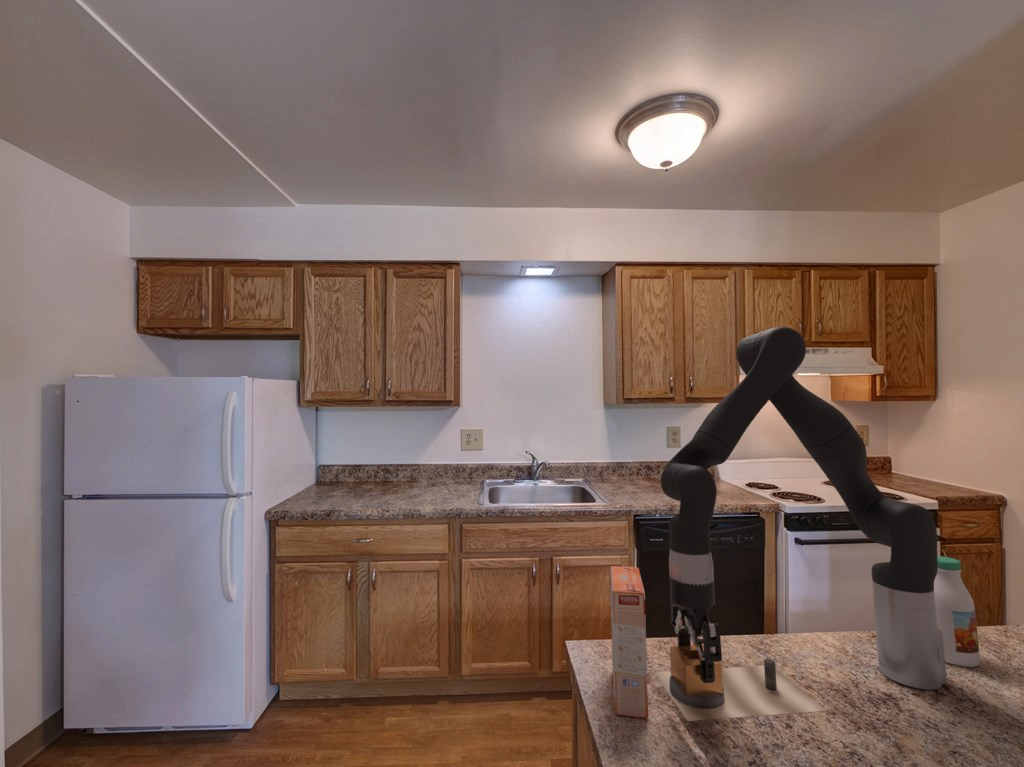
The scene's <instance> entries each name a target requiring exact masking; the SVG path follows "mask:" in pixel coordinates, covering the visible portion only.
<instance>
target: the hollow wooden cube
mask: <svg viewBox="0 0 1024 767" xmlns="http://www.w3.org/2000/svg"><path fill="white" fill-rule="evenodd" d="M702 648H703V651H704V645H702ZM669 653H670V655H669V656H670V658H669V660H670V672H671V675H672V677H673V678H674V679H675V681H676V682H677V683H678V685H679V686H680V687H681V689H682V690H683V691H684V693H685V694H686V695H687V696H695V695H710V694H723V684H722V668H723V666H722V661H720V662H714V671H715V681H714V682H713V683H703V681H702V680H701V679H700V657H699V653H698V650H697V647H696V646H695V645H694V644H692V645H691V646H678V645H677V646H669ZM691 658H696V659H699V660H690V659H691Z"/></svg>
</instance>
